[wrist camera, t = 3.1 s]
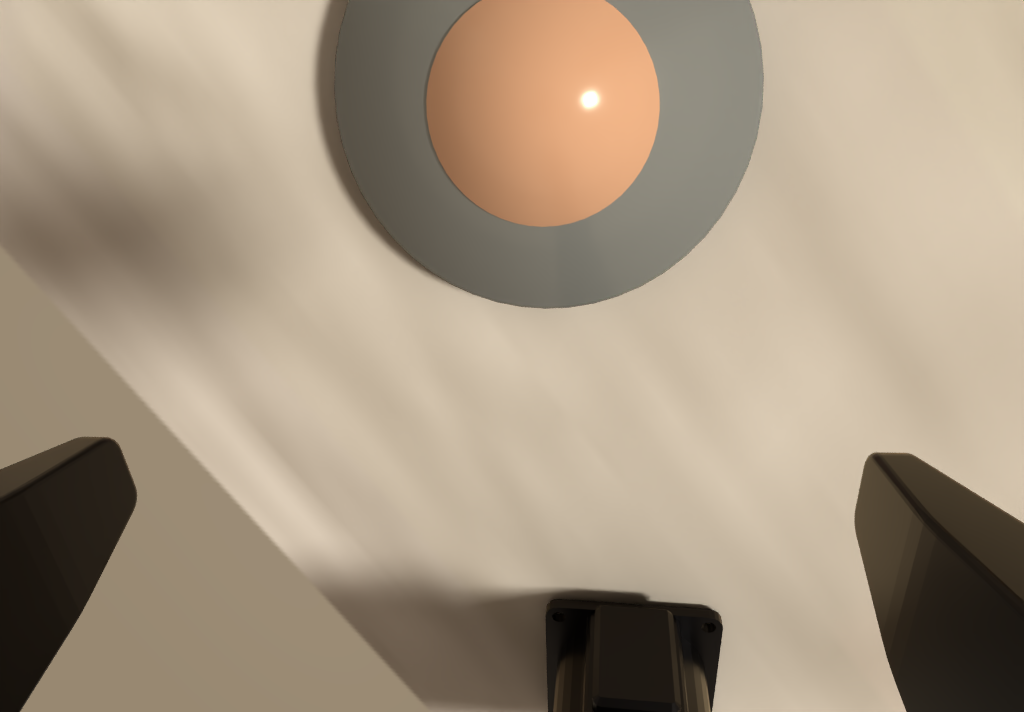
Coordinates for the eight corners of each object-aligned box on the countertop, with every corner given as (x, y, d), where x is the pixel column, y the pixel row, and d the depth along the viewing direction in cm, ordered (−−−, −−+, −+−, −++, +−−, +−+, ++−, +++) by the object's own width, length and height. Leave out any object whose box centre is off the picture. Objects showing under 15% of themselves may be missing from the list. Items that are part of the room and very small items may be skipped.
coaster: (734, 300, 21) (739, 312, 20) (372, 295, 22) (363, 307, 22) (785, -157, 16) (794, -164, 15) (313, -124, 17) (298, -129, 17)
